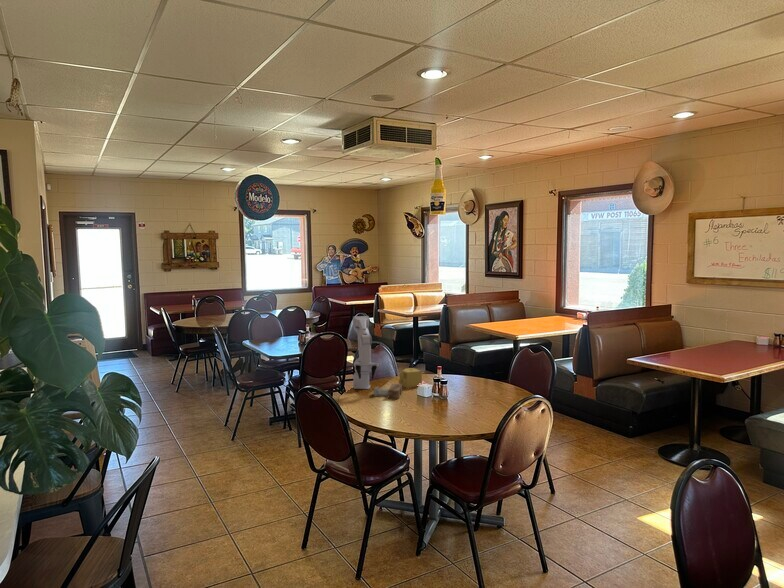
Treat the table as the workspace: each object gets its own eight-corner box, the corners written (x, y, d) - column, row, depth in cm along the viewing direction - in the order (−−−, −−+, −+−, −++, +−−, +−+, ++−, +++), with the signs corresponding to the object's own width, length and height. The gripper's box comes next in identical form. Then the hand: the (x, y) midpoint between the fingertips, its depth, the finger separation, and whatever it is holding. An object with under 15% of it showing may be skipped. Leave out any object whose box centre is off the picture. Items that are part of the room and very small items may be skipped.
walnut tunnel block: (388, 398, 307) (388, 390, 306) (392, 392, 321) (392, 384, 320) (398, 399, 306) (398, 390, 305) (402, 392, 320) (402, 384, 319)
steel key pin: (373, 396, 312) (373, 389, 312) (375, 393, 318) (375, 386, 318) (396, 397, 310) (396, 389, 310) (397, 394, 316) (397, 387, 316)
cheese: (398, 384, 337) (398, 369, 336) (413, 382, 342) (413, 367, 341) (407, 388, 328) (407, 372, 327) (422, 386, 333) (422, 370, 332)
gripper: (352, 356, 311) (352, 379, 312) (377, 357, 309) (377, 380, 310) (354, 354, 318) (355, 376, 319) (379, 354, 316) (379, 377, 317)
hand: (366, 378), depth 315 cm, fingers open, 7 cm apart
